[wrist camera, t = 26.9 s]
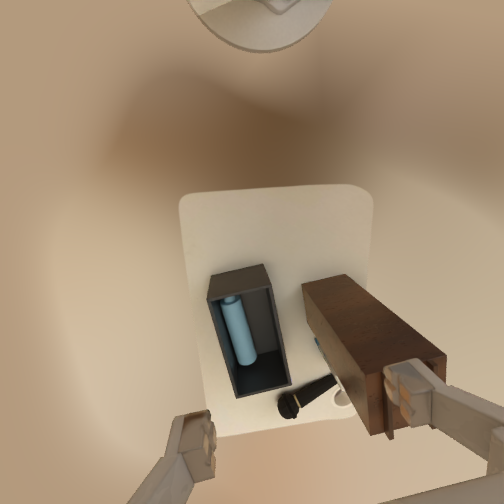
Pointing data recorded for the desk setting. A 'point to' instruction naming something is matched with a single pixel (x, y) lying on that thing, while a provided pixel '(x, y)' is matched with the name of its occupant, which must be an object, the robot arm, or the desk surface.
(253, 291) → the bin
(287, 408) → the microphone
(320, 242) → the desk surface
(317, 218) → the desk surface
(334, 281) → the stand
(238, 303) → the bottle
